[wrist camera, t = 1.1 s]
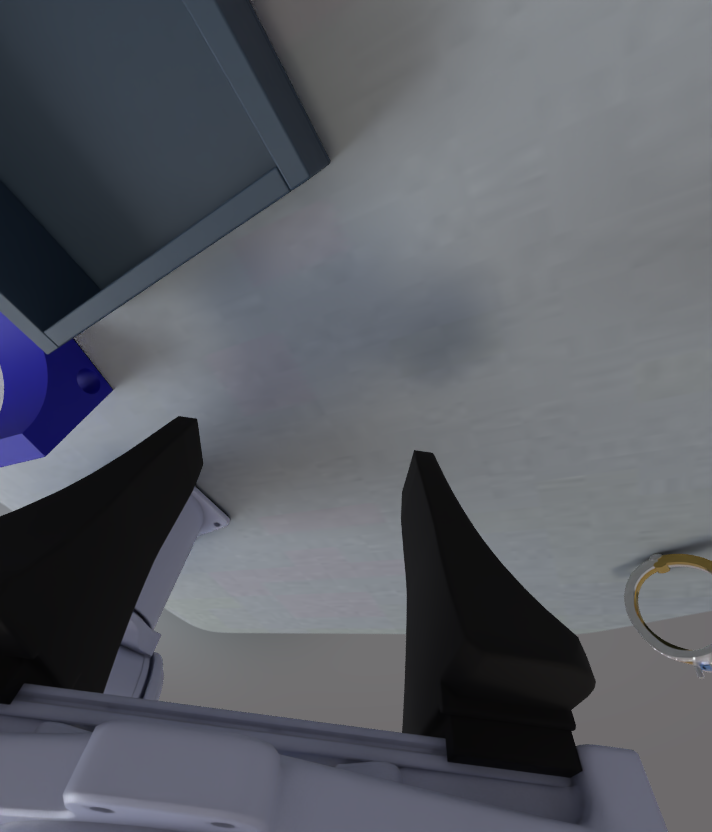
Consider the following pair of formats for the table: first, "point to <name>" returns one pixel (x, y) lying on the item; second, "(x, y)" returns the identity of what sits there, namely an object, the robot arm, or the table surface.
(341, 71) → the table surface
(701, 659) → the ring
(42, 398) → the blue cradle bracket
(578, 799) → the robot arm
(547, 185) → the table surface
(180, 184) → the desk bin
